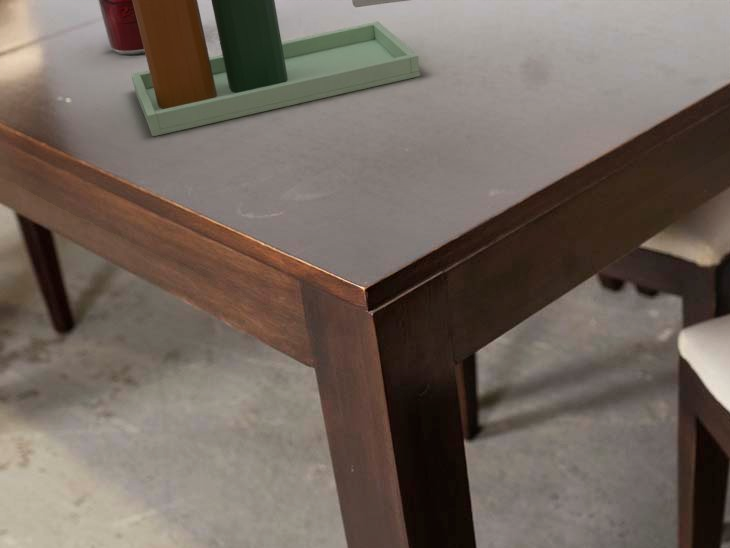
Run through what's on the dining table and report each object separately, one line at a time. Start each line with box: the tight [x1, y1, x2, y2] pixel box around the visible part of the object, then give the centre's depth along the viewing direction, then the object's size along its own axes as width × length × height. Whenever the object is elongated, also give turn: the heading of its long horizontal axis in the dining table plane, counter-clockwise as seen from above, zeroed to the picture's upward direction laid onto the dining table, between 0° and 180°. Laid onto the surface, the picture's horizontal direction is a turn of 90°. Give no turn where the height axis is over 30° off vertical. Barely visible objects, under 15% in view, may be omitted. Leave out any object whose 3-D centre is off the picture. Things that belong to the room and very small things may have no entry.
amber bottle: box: [132, 0, 217, 109], centre depth 101 cm, size 6×6×15 cm
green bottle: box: [211, 0, 288, 93], centre depth 102 cm, size 6×6×15 cm
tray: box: [130, 21, 421, 137], centre depth 106 cm, size 26×13×2 cm, turn 108°
